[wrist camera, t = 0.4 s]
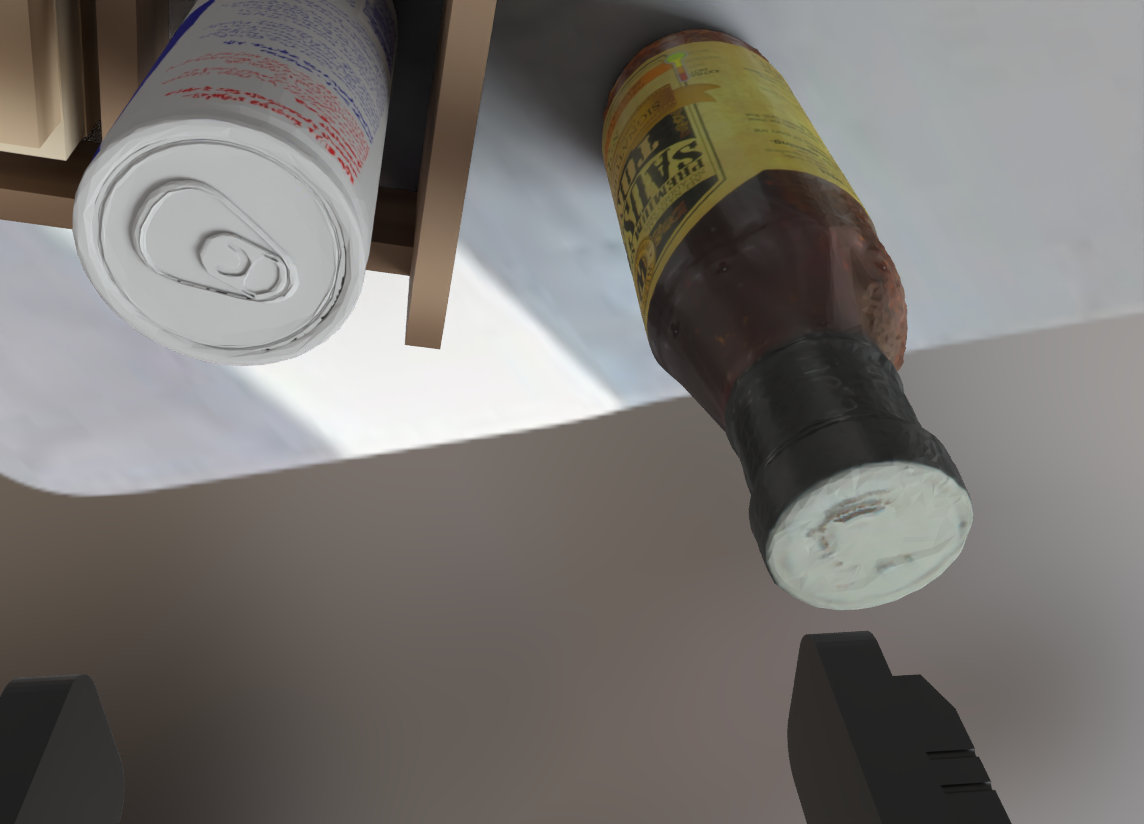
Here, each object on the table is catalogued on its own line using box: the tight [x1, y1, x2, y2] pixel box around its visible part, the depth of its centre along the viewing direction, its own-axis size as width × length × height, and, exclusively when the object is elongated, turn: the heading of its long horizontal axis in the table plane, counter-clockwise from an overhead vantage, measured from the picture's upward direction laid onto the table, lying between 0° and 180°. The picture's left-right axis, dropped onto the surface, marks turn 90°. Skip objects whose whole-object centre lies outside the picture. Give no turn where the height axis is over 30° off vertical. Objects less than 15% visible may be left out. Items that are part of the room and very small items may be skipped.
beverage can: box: [72, 0, 398, 366], centre depth 27 cm, size 6×6×15 cm
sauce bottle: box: [602, 29, 973, 610], centre depth 28 cm, size 6×6×20 cm
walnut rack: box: [0, 0, 497, 349], centre depth 29 cm, size 12×17×8 cm
